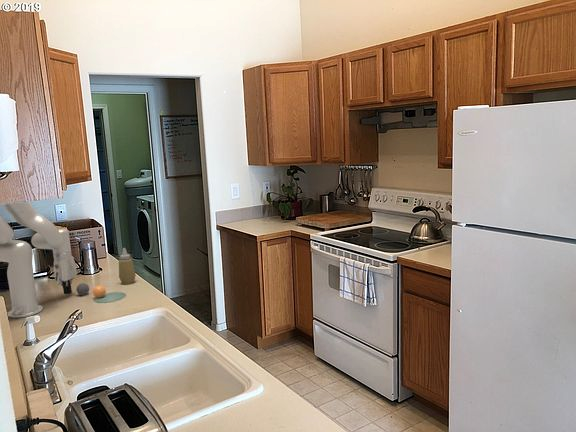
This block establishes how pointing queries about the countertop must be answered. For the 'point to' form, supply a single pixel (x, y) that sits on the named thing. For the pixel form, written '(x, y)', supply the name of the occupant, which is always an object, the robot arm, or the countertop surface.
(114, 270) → the countertop surface
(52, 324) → the countertop surface
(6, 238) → the robot arm
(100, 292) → the object ball
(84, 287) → the dark gray ball
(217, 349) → the countertop surface
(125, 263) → the squeeze bottle
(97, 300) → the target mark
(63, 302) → the countertop surface
